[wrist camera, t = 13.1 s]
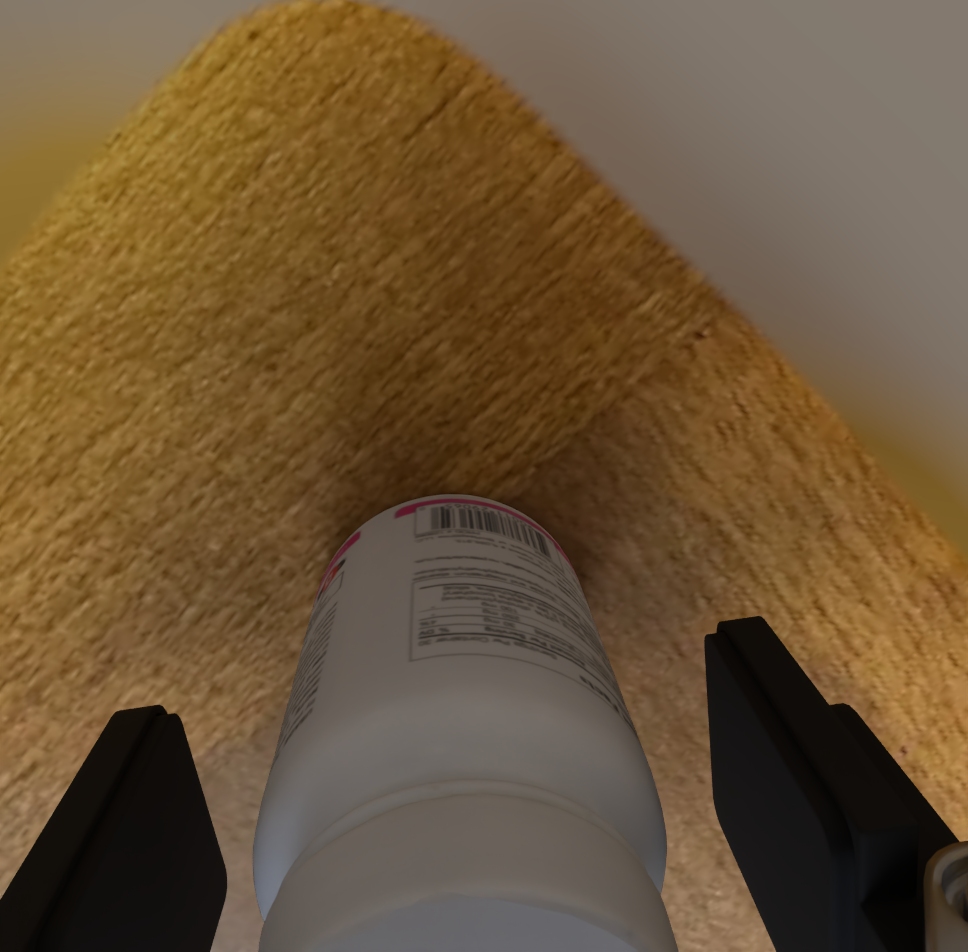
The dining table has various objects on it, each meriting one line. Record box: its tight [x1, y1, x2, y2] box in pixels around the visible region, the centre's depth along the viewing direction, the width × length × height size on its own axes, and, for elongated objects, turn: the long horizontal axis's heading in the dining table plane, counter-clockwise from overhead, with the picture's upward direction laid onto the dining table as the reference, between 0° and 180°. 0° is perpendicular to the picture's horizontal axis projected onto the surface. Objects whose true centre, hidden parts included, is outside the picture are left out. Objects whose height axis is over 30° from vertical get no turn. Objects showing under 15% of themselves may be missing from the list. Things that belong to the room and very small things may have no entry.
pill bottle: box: [253, 494, 678, 952], centre depth 11 cm, size 5×5×8 cm
